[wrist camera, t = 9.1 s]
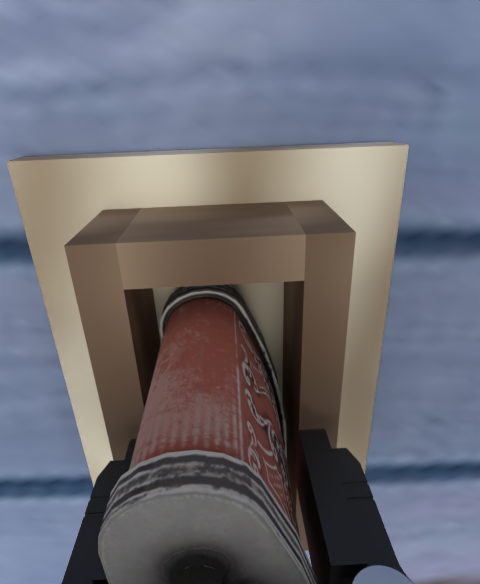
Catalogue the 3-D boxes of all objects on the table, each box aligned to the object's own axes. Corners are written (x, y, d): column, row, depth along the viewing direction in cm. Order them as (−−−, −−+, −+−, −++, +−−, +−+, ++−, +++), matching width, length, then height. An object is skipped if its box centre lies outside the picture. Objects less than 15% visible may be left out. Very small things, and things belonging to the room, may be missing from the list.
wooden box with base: (393, 141, 13) (475, 160, 9) (354, 469, 20) (391, 570, 15) (24, 156, 13) (-71, 182, 9) (105, 484, 19) (73, 591, 15)
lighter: (141, 293, 13) (-71, 796, 3) (247, 266, 12) (318, 730, 3) (213, 472, 16) (202, 963, 7) (298, 454, 16) (402, 938, 7)
